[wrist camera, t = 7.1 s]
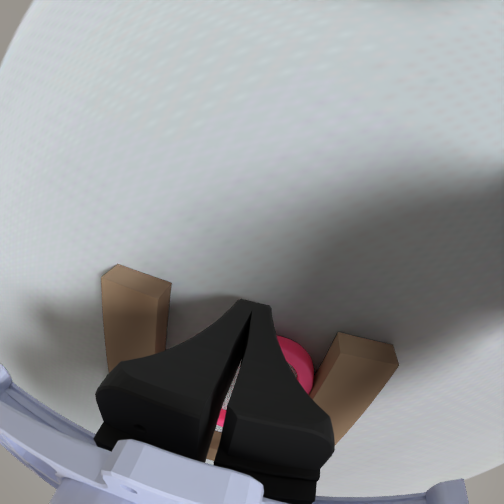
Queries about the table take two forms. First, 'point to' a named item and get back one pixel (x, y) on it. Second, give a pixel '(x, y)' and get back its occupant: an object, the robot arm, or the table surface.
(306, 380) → the fitness band
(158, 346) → the notched board
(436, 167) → the table surface
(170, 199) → the table surface
